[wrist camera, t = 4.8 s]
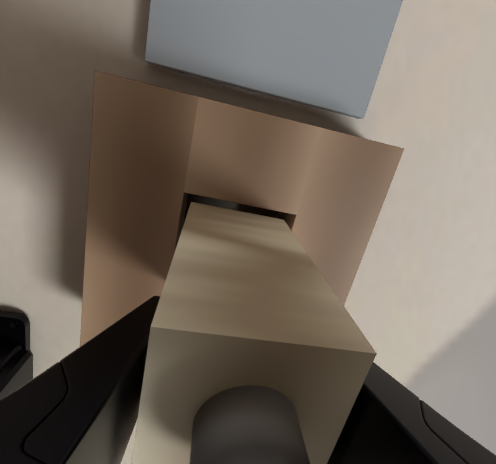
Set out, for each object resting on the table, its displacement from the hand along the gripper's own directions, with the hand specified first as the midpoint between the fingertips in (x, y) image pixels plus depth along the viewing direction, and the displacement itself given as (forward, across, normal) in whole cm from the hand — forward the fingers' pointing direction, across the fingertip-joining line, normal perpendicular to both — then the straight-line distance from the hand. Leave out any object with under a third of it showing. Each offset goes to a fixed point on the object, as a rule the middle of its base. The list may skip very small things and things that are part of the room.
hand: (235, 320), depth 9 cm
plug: (+5, 0, 0) cm, 5 cm away
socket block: (+8, 0, 0) cm, 8 cm away
